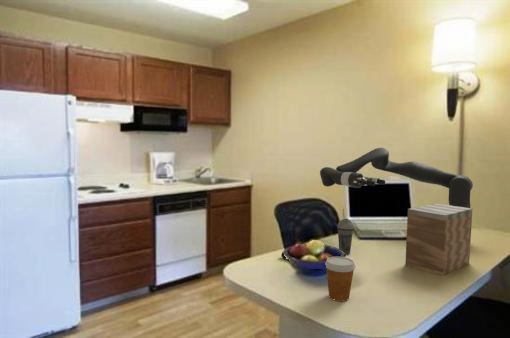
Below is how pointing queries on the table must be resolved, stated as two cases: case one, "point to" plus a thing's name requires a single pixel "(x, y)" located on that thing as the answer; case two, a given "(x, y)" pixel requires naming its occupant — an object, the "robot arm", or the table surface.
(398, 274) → the table surface
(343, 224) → the beverage cup
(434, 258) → the under counter cubby
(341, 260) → the disposable coffee cup
